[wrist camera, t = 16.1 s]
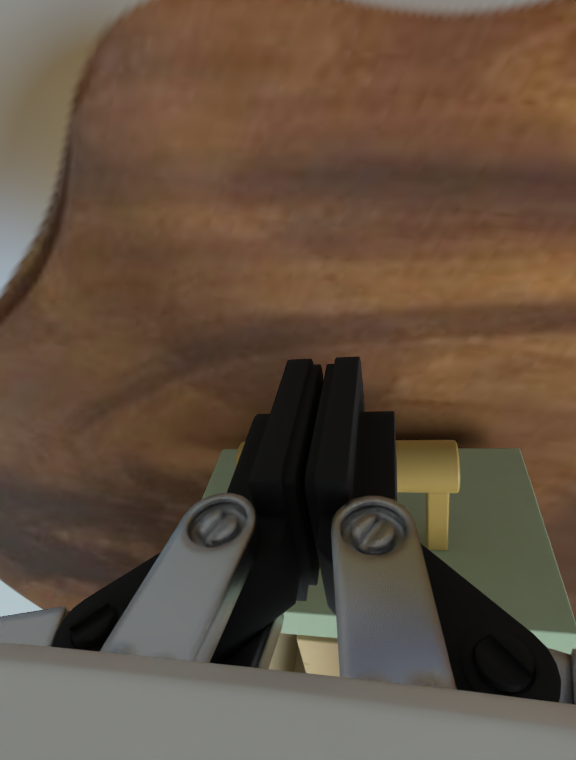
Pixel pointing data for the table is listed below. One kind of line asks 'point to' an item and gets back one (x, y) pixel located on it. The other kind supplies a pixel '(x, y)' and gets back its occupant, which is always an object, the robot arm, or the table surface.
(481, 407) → the table surface
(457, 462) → the drawer
